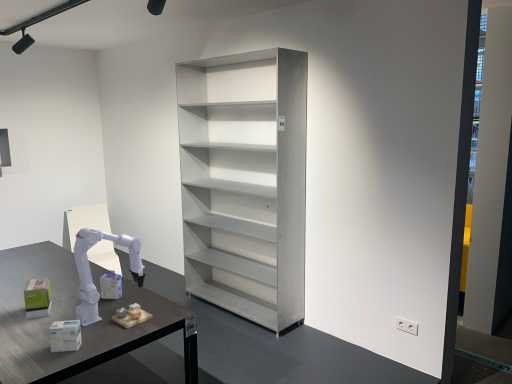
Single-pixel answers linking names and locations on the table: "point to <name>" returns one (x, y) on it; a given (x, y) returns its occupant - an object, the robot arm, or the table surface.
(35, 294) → the tea box
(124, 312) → the tile three
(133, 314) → the tile one
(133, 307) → the tile two
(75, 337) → the light bulb box
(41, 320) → the table surface
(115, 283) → the ink cartridge box
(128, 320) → the button board
